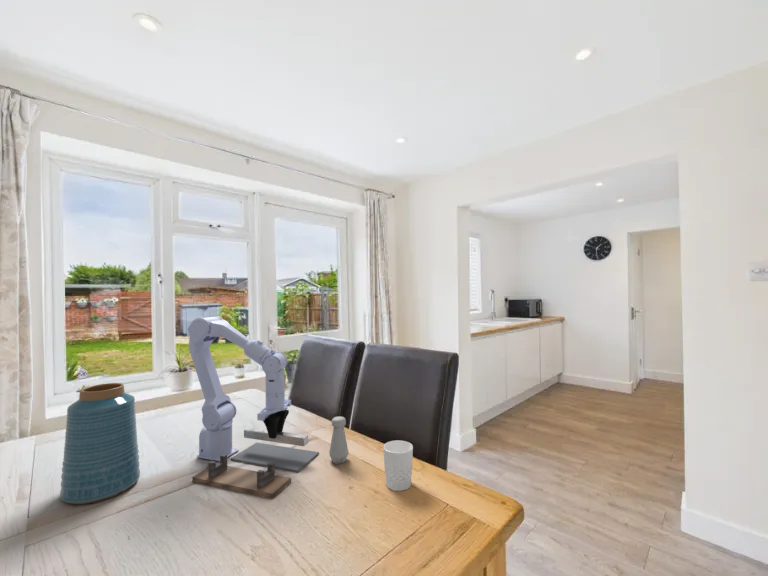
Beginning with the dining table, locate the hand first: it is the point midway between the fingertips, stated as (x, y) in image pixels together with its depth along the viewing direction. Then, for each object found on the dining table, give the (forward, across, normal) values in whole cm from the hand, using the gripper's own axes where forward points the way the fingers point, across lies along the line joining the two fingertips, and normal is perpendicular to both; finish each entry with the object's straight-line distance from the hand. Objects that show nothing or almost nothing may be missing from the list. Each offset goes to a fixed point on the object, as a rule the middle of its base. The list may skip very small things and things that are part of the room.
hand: (275, 435), depth 109 cm
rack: (+7, -15, 0) cm, 16 cm away
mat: (+7, 0, 0) cm, 7 cm away
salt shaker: (+7, +4, -20) cm, 22 cm away
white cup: (+7, -3, -41) cm, 42 cm away
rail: (+1, 0, 0) cm, 1 cm away
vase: (+7, -29, +33) cm, 44 cm away
